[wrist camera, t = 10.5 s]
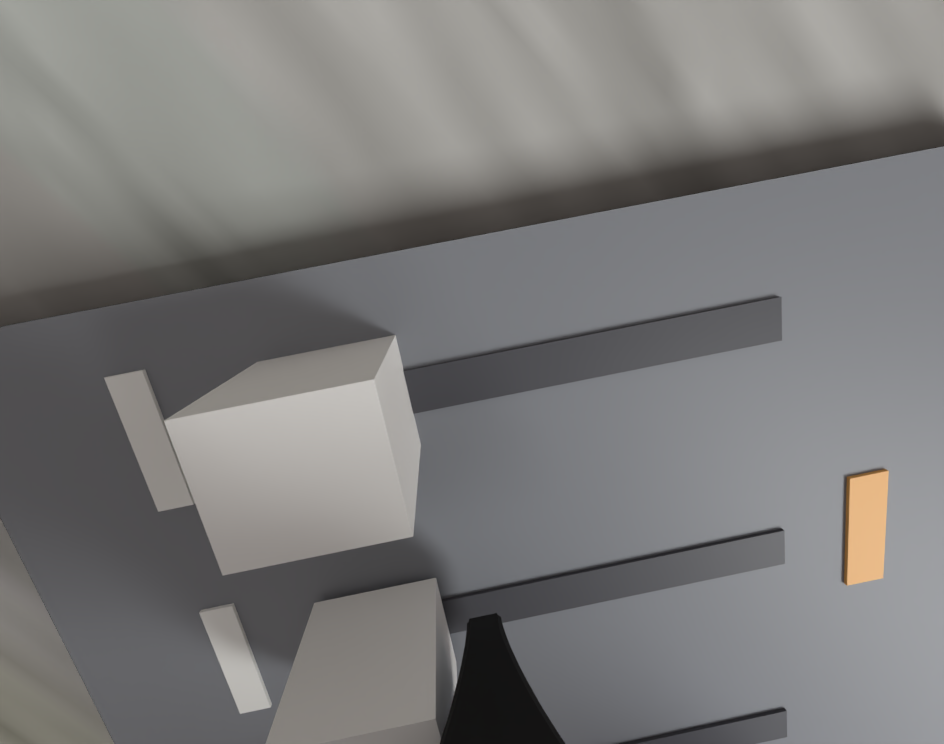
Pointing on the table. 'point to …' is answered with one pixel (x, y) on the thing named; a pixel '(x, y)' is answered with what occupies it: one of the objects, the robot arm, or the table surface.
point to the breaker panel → (521, 467)
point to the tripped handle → (371, 671)
